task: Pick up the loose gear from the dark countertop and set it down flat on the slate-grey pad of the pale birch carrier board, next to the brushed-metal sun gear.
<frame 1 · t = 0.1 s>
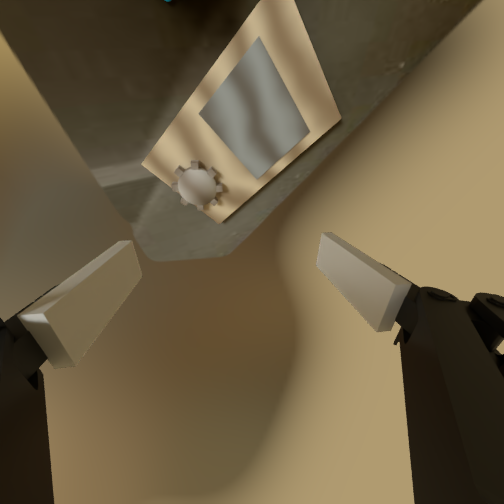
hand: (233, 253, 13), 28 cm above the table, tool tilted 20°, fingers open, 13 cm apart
carrier board: (238, 139, 33), on the table
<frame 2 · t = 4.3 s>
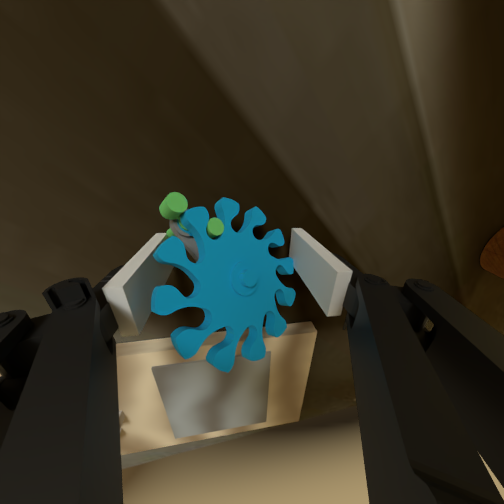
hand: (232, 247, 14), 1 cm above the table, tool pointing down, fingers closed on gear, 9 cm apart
disposable coffee cup: (503, 245, 21), on the table
gear: (231, 247, 15), point 1 cm above the table, touching gripper
carrier board: (185, 389, 23), on the table
when the fingers open (3 cm above the table, at t = 9.7 s): gear stays where it is, resting on carrier board.
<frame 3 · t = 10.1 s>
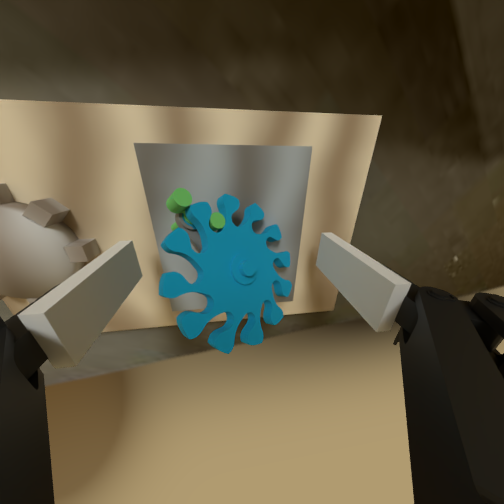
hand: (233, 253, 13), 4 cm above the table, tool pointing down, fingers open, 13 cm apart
gear: (232, 241, 16), point 1 cm above the table, touching carrier board
carrier board: (186, 235, 17), on the table
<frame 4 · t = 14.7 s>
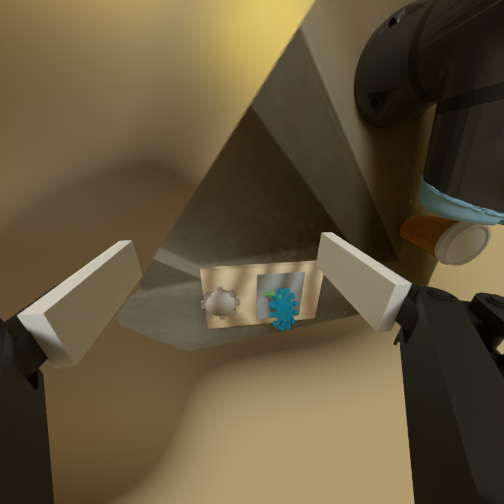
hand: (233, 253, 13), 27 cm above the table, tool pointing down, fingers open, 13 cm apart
disposable coffee cup: (410, 226, 46), on the table
gear: (278, 296, 48), point 1 cm above the table, touching carrier board
carrier board: (263, 293, 49), on the table
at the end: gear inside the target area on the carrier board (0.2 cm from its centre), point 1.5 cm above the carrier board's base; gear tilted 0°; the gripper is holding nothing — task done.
